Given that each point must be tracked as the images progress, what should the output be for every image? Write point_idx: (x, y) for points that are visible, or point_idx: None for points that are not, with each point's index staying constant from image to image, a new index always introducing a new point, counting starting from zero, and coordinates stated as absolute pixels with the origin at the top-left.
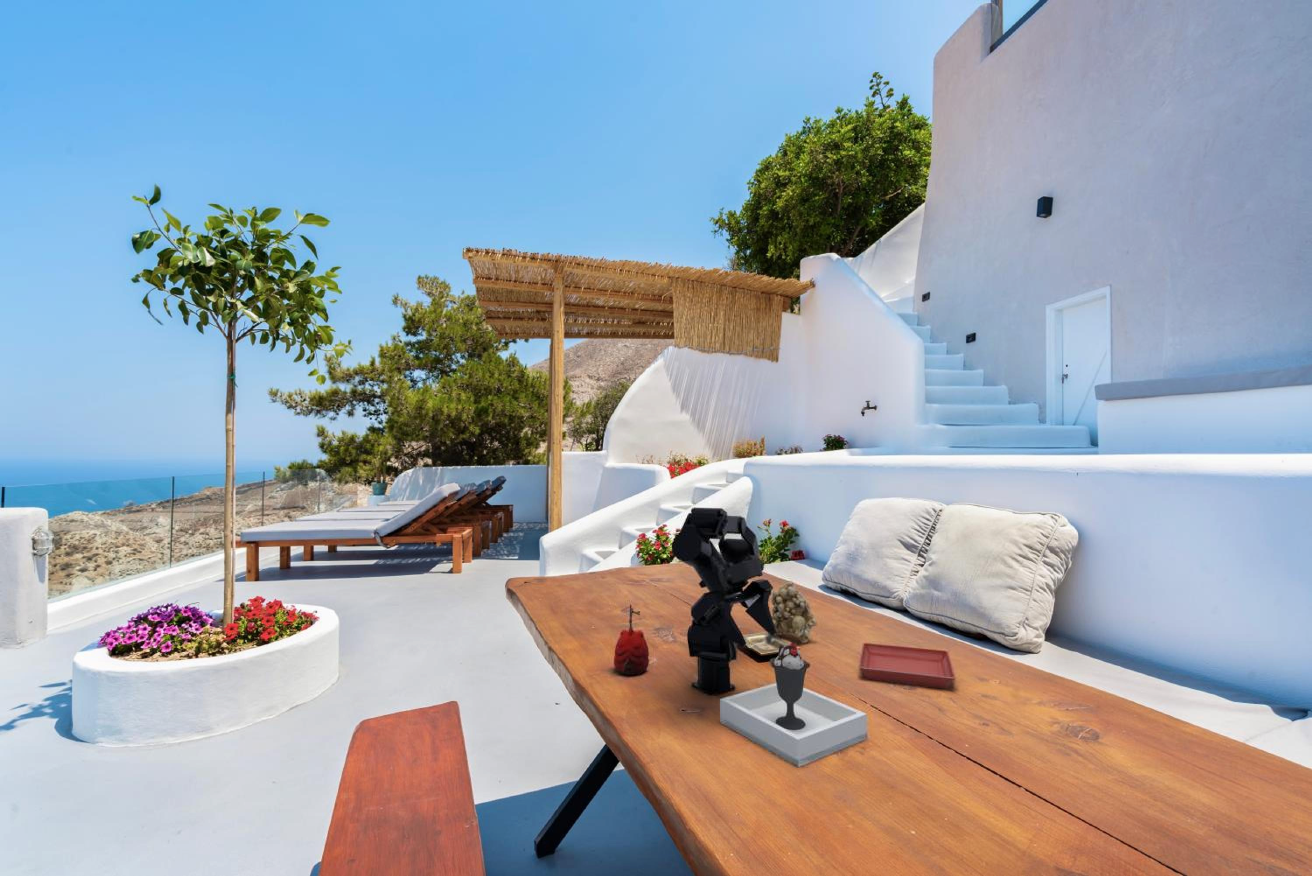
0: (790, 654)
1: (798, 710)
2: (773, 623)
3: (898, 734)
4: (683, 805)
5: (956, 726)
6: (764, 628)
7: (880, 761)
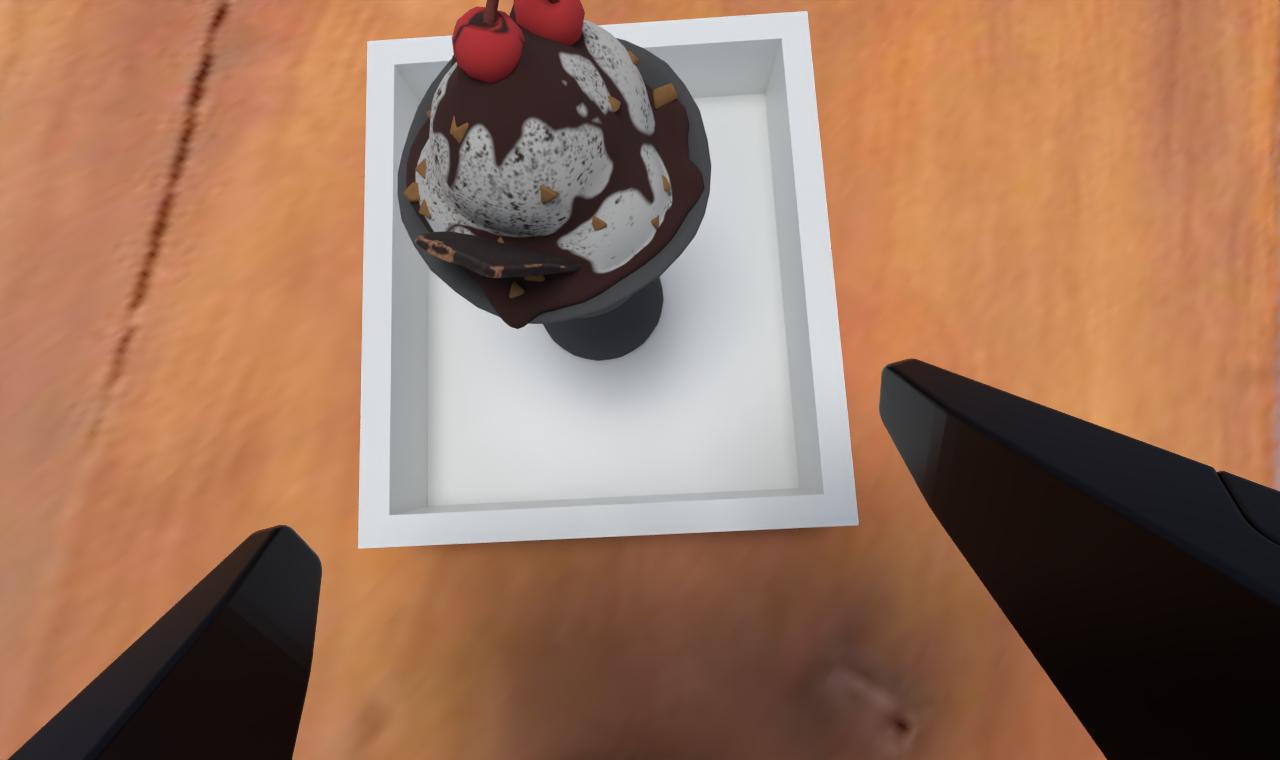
0: (582, 46)
1: (473, 379)
2: (150, 630)
3: (288, 81)
4: (1257, 92)
5: (60, 23)
6: (294, 707)
7: None
